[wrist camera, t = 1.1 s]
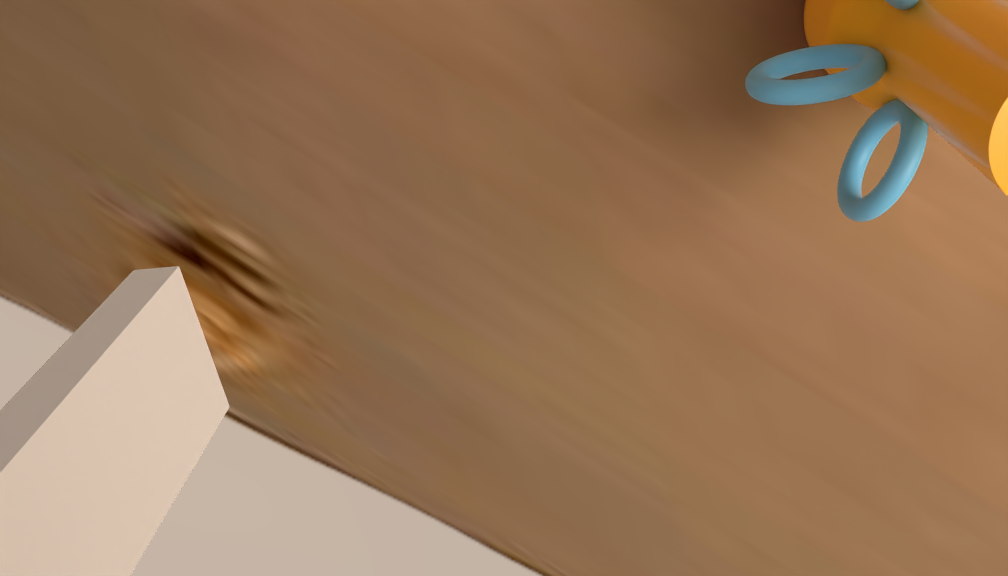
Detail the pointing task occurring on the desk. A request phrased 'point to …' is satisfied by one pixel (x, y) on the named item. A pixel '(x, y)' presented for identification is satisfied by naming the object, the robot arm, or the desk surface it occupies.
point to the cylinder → (902, 84)
